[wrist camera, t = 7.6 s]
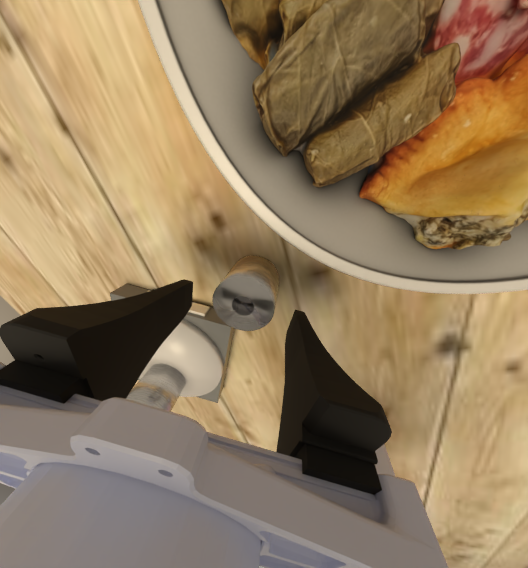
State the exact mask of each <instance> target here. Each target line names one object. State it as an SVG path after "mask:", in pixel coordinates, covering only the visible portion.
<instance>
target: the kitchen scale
mask: <svg viewBox="0 0 528 568" xmlns="http://www.w3.org/2000/svg"><path fill="white" fill-rule="evenodd" d="M149 291H151V290H148V289H144V288H141V287H137V286H133V285H130V284H125V285H123V286H122V287H120V288H118V289H116V290H115V291H113V292H111V293H110V296H111V301H113V300H118V299H123V298H127V297H131V296H135V295H139V294H142V293H145V292H149ZM233 333H234V328H233V327H231V326H229V325H227V324H226V323H225V322H223V321H222V320H221V319H220V318H219V316H218V315H217V313H216V312H215V309H214V308H213V307H209V306H206V305H202V304H198V303H195V302H192V307H191V308H190V310H189V311H188V313H187V314H186V316H185V317H184V319H183V320H182V321H181V322H180V323H179V325H178V326H177V327H176V328H175V329H174V330H173V332H172V333H171V334H170V335H169V336H168V337H167V339H166V340H165V341H164V342H163V343H162V345H161V346H160V347H159V348H158V350H157V351H156V353H155V354H154V356H153V357H152V358H151V360H150V361H149V363H148V364H147V366H146V367H145V369H144V371H143V372H142V374H141V375H140V377H139V378H138V380H140V379H141V378H142V377H143V376H144V374H145V373H146V372H147V371H148V369H149V368H150V367H151V366H152V365H154V364H166V365H169V366H172V367H174V368H175V369H177V370H178V371H180V372H181V373H182V374H183V376H184V377H185V380H186V385H185V387H184V388H183V390H182V392H181V394H180V396H183V397H199V398H202V399H206V400H209V401H213V402H216V403H218V400H219V398H220V395H221V392H222V389H223V385H224V380H225V375H226V370H227V364H228V359H229V354H230V349H231V344H232V338H233Z"/></svg>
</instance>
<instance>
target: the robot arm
mask: <svg viewBox="0 0 528 568" xmlns="http://www.w3.org/2000/svg"><path fill="white" fill-rule="evenodd" d="M192 292H193V282H192V281H188V280H185V279H184V280H181V281H178V282H175V283H172V284H169V285H166V286H164V287H161V288H158V289H155V290H152V291H149V292H145V293H142V294H139V295H135V296H131V297H127V298H123V299H118V300H113V301H107V302H101V303H95V304H87V305H78V306H68V307H53V308H36V309H34V310H32V311H30V312H28V313H26V314H24V315H22V316H20V317H17V318H15V319H13V320H11V321H9V322H7V323H5V324H3V325H2V326H1V328H0V337H1V339H2V341H3V342H4V344H5V345H6V347H7V348H8V350H9V351H10V353H11V354H12V356H13V357H14V359H15V361H13V362H12V363H10V364H9V365H7V366H6V365H4V364H3V363H1V362H0V483H2V484H4V485H7V486H10V487H12V488H15V490H14V491H13V493H12V494H11V495H10V496H9V497H8V498H7V499H6V500H5V501H4V503H2V504H1V506H0V568H259V566H262V567H265V568H448V566H447V563H446V561H445V558H444V556H443V553H442V551H441V548H440V546H439V543H438V541H437V538H436V536H435V533H434V531H433V528H432V526H431V523H430V521H429V518H428V516H427V513H426V511H425V508H424V506H423V503H422V501H421V499H420V496H419V494H418V491H417V489H416V486H415V484H414V483H413V482H412V481H409V480H406V479H402V478H399V477H396V476H395V474H394V471H393V468H392V465H391V462H390V459H389V456H388V453H387V451H386V448H385V445H384V444H385V443H386V442H387V441H388V439H389V438H390V437H391V433H392V431H391V428H390V425H389V423H388V420H387V418H386V415H385V413H384V410H383V408H382V406H381V404H379V403H378V402H377V401H376V400H375V399H373V398H372V397H371V396H370V395H369V394H367V393H366V392H365V391H364V390H363V389H362V388H361V387H360V386H359V385H357V384H356V383H355V382H354V381H353V380H352V379H351V378H350V377H349V376H348V375H347V374H346V373H345V372H344V371H343V369H342V368H341V367H340V366H339V365H338V364H337V363H336V362H335V360H334V359H333V358H332V357H331V355H330V354H329V353H328V352H327V350H326V349H325V347H324V346H323V344H322V343H321V341H320V340H319V338H318V337H317V335H316V333H315V332H314V330H313V328H312V326H311V324H310V322H309V320H308V318H307V316H306V315H305V313H304V312H302V311H298V310H295V312H294V314H293V317H292V320H291V322H290V325H289V328H288V330H287V334H286V342H285V386H284V396H283V405H282V414H281V422H280V430H279V438H278V445H277V452H274V451H270V450H267V449H263V448H260V447H257V446H253V445H250V444H246V443H243V442H239V441H236V440H233V439H229V438H226V437H222V436H219V435H215V434H212V433H209V432H206V430H205V428H204V427H203V426H202V425H200V424H199V423H198V422H197V421H195V420H193V419H191V418H188V417H186V416H183V415H180V414H176V413H173V412H170V411H166V410H163V409H159V408H156V407H152V406H149V405H145V404H142V403H139V402H135V401H132V400H128V399H126V398H127V396H128V395H129V393H130V391H131V390H132V388H133V386H134V385H135V383H136V382H137V380H138V378H139V377H140V375H141V374H142V372H143V371H144V369H145V367H146V366H147V364H148V363H149V361H150V360H151V358H152V357H153V356H154V354H155V353H156V351H157V350H158V348H159V347H160V346H161V345H162V343H163V342H164V341H165V340H166V339H167V337H168V336H169V335H170V334H171V333H172V332H173V330H174V329H175V328H176V327H177V326H178V325H179V323H180V322H181V321H182V320H183V319H184V317H185V316H186V314H187V313H188V311H189V310H190V308H191V307H192Z"/></svg>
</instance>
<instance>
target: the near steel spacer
mask: <svg viewBox="0 0 528 568" xmlns="http://www.w3.org/2000/svg"><path fill="white" fill-rule="evenodd" d="M278 286H279V274H278V271H277V269H276V267H275V266H274V265H273V264H272V263H271V262H270V261H269V260H267V259H265V258H263V257H260V256H247V257H244V258H242V259H240V260H239V261H238V262H237V263H236V264H235V265H234V267H233V268H232V269H231V270H230V272H229V273H228V274H227V275H226V277H225V278H224V279H223V280H222V282H221V283H220V284H219V286H218V287H217V288H216V290H215V291H214V294H213V306H214V309H215V312H216V313H217V315H218V316H219V318H220V319H221V320H222V321H223V322H225V323H226V324H227V325H229V326H231V327H233V328H235V329H239V330H244V331H253V330H257V329H260V328H262V327H264V326H265V325H267V324H268V323H269V322H270V320H271V319H272V317H273V314H274V309H275V303H276V297H277V291H278Z"/></svg>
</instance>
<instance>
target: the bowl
mask: <svg viewBox="0 0 528 568" xmlns="http://www.w3.org/2000/svg"><path fill="white" fill-rule="evenodd" d="M138 2H139V5H140V8H141V11H142V14H143V17H144V20H145V22H146V25H147V28H148V30H149V33H150V36H151V39H152V41H153V44H154V47H155V49H156V52H157V54H158V56H159V59H160V61H161V64H162V66H163V68H164V71H165V73H166V76H167V78H168V80H169V82H170V84H171V86H172V89H173V91H174V93H175V95H176V97H177V99H178V101H179V104H180V106H181V108H182V109H183V111H184V113H185V115H186V117H187V119H188V121H189V123H190V125H191V126H192V128H193V130H194V132H195V134H196V135H197V137H198V139H199V140H200V142H201V144H202V145H203V147H204V149H205V150H206V152H207V153H208V155H209V156H210V158H211V159H212V161H213V162H214V164H215V165H216V167H217V168H218V170H219V171H220V173H221V174H222V175H223V177H224V178H225V179H226V181H227V182H228V183H229V185H230V186H231V187H232V189H233V190H234V191H235V192H236V193H237V194H238V196H239V197H240V198H241V199H242V200H243V201H244V203H245V204H246V205H247V206H248V207H249V208H250V209H251V210H252V211H253V212H254V213H255V214H256V215H257V216H258V217H259V218H260V219H261V220H262V221H263V222H264V223H265V224H266V225H267V226H269V227H270V228H271V229H272V230H273V231H274V232H276V233H277V234H278V235H279V236H281V237H282V238H283V239H284V240H286V241H287V242H288V243H290V244H291V245H293V246H294V247H296V248H297V249H298V250H300V251H301V252H303V253H305V254H306V255H308V256H310V257H311V258H313V259H315V260H317V261H319V262H321V263H322V264H324V265H326V266H328V267H330V268H333V269H335V270H337V271H340V272H342V273H344V274H347V275H350V276H352V277H355V278H358V279H361V280H364V281H368V282H371V283H375V284H379V285H383V286H387V287H392V288H397V289H403V290H409V291H418V292H427V293H442V294H484V293H500V292H511V291H520V290H528V0H138Z"/></svg>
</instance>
